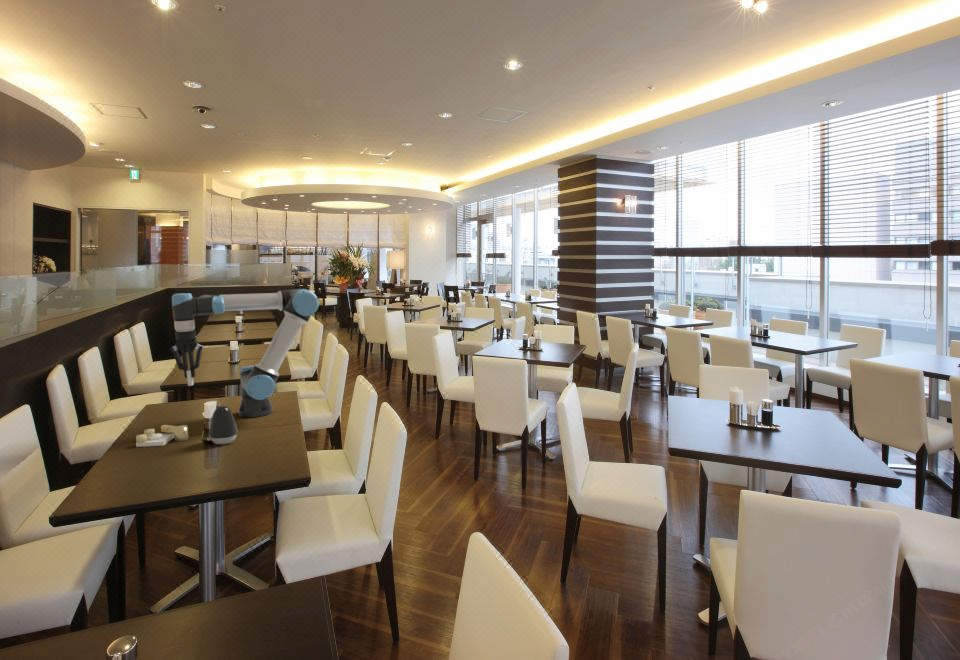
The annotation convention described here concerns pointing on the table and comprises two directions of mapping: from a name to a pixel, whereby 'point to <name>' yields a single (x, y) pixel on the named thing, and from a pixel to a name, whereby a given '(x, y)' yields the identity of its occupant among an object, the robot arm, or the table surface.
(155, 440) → the levelling base
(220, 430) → the dark grey egg-shaped device
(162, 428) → the footscrew knob
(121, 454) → the table surface
